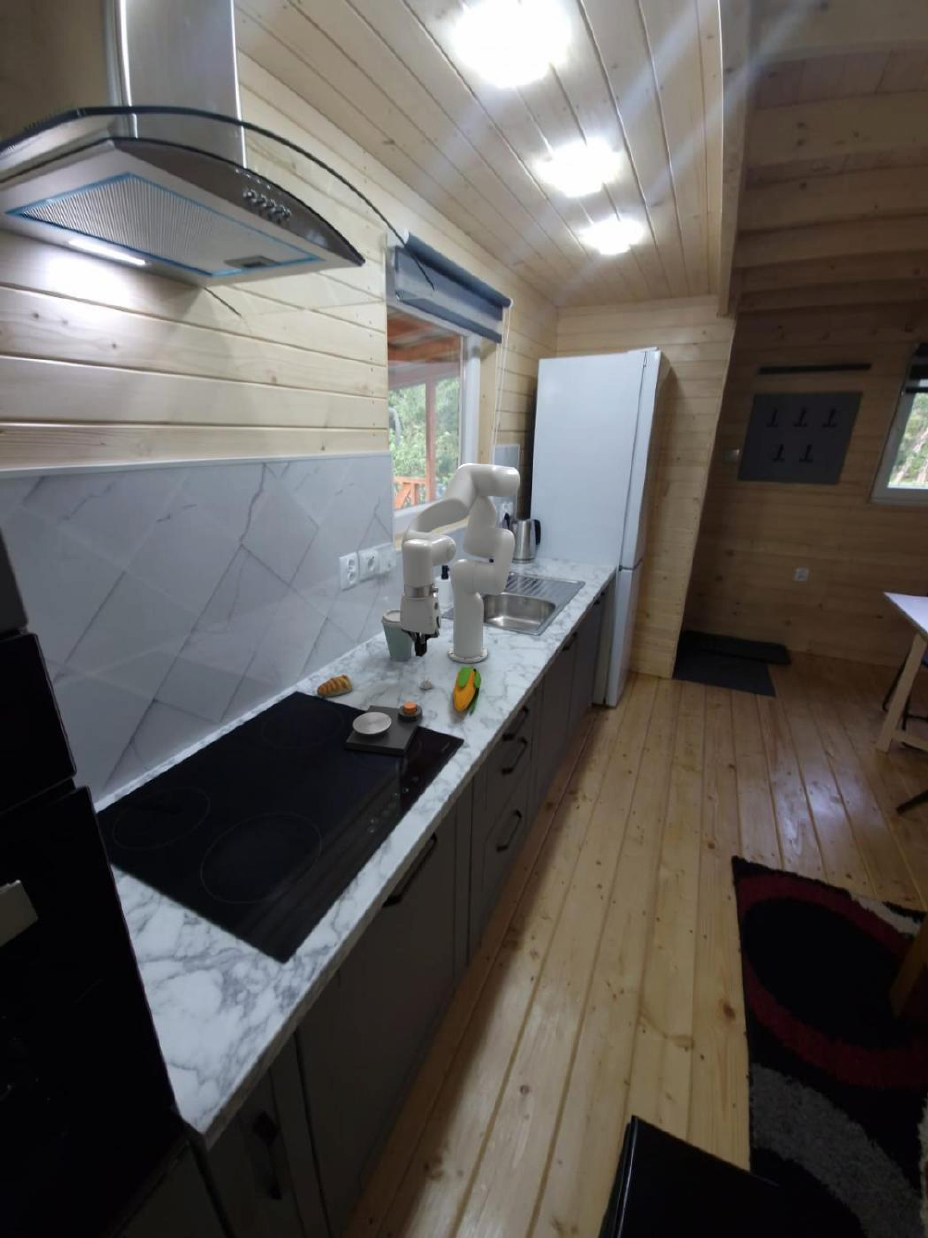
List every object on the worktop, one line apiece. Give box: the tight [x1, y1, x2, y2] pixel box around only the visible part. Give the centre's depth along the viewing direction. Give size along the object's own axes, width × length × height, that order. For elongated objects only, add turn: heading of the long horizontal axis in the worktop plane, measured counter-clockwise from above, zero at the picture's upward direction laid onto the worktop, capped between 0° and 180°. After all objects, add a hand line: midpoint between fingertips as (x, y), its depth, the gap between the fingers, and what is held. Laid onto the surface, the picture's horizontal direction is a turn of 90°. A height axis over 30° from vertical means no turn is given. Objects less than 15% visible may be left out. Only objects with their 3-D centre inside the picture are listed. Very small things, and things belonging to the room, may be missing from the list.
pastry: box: [316, 674, 354, 698], centre depth 138 cm, size 9×7×4 cm
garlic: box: [420, 677, 433, 690], centre depth 141 cm, size 3×4×3 cm
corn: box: [452, 666, 482, 712], centre depth 133 cm, size 7×8×20 cm
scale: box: [345, 703, 424, 757], centre depth 120 cm, size 16×14×4 cm
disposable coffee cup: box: [380, 608, 413, 662], centre depth 156 cm, size 11×11×15 cm
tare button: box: [403, 701, 417, 714], centre depth 124 cm, size 3×3×2 cm
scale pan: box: [352, 712, 391, 736], centre depth 117 cm, size 9×9×1 cm
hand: (421, 654), depth 131 cm, fingers closed
